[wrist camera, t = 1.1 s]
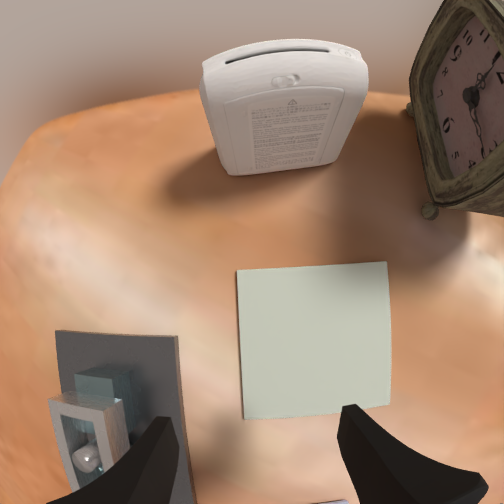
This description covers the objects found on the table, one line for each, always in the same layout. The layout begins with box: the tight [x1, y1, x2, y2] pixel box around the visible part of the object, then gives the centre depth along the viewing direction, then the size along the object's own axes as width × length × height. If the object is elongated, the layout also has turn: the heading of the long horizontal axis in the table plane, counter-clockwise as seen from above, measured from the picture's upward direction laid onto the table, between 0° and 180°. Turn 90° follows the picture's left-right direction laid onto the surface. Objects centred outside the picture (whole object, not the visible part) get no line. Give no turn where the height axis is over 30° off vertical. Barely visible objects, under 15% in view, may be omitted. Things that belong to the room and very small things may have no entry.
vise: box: [55, 330, 197, 504], centre depth 18 cm, size 18×12×8 cm, turn 3°
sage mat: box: [237, 261, 391, 420], centre depth 22 cm, size 12×12×1 cm
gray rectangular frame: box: [48, 391, 130, 492], centre depth 17 cm, size 9×5×3 cm, turn 3°
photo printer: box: [199, 39, 369, 175], centre depth 19 cm, size 10×4×12 cm, turn 98°
